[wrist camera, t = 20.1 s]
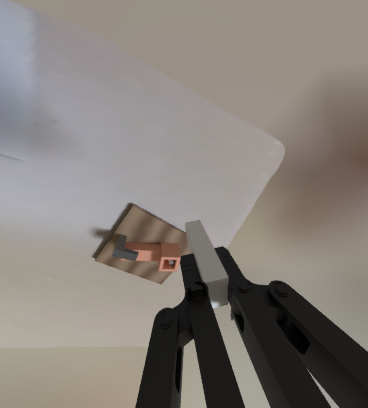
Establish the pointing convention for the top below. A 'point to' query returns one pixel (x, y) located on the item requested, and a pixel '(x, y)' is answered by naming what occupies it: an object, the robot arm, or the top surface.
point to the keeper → (124, 250)
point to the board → (143, 233)
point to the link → (157, 254)
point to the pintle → (171, 262)
